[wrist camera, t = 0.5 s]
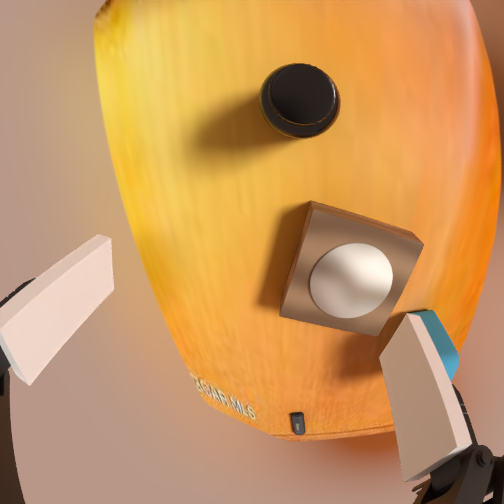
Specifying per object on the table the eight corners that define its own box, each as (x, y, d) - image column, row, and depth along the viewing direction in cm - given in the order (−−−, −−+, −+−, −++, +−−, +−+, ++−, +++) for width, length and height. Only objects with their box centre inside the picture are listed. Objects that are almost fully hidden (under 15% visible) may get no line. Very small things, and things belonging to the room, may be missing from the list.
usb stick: (290, 410, 49) (290, 416, 48) (303, 410, 48) (303, 415, 47) (294, 430, 53) (293, 436, 51) (305, 430, 52) (305, 435, 51)
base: (310, 200, 31) (313, 210, 27) (412, 232, 31) (425, 245, 27) (281, 298, 37) (279, 317, 33) (371, 318, 37) (377, 338, 33)
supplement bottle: (293, 150, 29) (294, 159, 18) (254, 105, 28) (231, 89, 17) (340, 115, 27) (368, 104, 16) (300, 70, 25) (304, 34, 14)
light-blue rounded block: (415, 359, 39) (433, 412, 28) (393, 363, 40) (408, 418, 29) (431, 305, 34) (462, 359, 24) (406, 308, 35) (433, 366, 24)
